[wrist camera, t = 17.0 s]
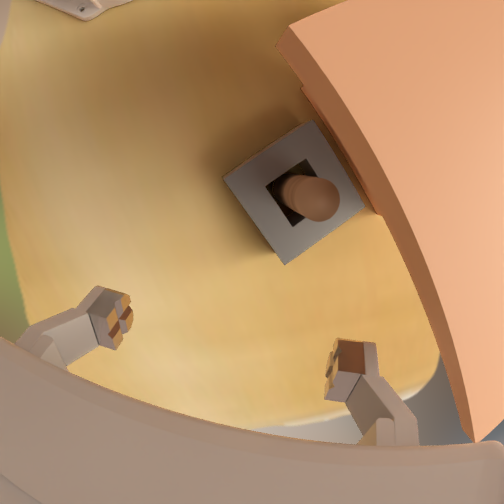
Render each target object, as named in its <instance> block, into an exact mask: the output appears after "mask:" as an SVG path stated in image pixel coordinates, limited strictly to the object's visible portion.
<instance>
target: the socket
mask: <svg viewBox="0 0 504 504" xmlns="http://www.w3.org/2000/svg"><path fill="white" fill-rule="evenodd" d="M297 164H298V165H299V166H300V168H301V169H302V171H303V172H304V174H305V175H306V176H311V177H317V178H323V179H327V180H329V181H331V182H332V183H333V184H334V185H335V186H336V188H337V189H338V192H339V195H340V204H339V207H338V210H337V212H336V213H335V214H334V215H333V216H332V217H331V218H330V219H328V220H326V221H322V222H315V221H312V220H310V219H308V218H306V217H304V216H303V215H301V214H299V213H298V212H296V211H294V212H293V213H291V214H290V215H288V216H287V217H285V215H284V214H283V212H282V211H281V209H280V208H279V206H278V205H277V203H276V202H275V200H274V199H273V197H272V196H271V195H270V193H269V192H268V190H267V189H266V187H265V186H266V185H268V184H269V183H270V182H272V181H273V180H275V179H276V178H278V177H279V176H281V175H282V174H283V173H285V172H286V171H288V170H289V169H291V168H292V167H294V166H295V165H297ZM222 179H223V180H224V181H225V183H226V184H227V185H228V187H229V188H230V190H231V191H232V192H233V194H234V195H235V197H236V198H237V199H238V201H239V202H240V204H241V205H242V206H243V208H244V209H245V210H246V212H247V213H248V215H249V216H250V217H251V219H252V220H253V222H254V223H255V225H256V226H257V227H258V229H259V230H260V232H261V233H262V234H263V236H264V237H265V239H266V240H267V241H268V243H269V244H270V246H271V247H272V248H273V250H274V251H275V253H276V254H277V256H278V257H279V258H280V260H281V261H282V262H283V264H284V265H286V264H287V263H289V262H290V261H291V260H293V259H294V258H296V257H297V256H299V255H300V254H301V253H303V252H304V251H305V250H307V249H308V248H310V247H311V246H312V245H314V244H315V243H317V242H318V241H319V240H321V239H322V238H324V237H325V236H326V235H328V234H329V233H330V232H332V231H333V230H335V229H336V228H337V227H339V226H340V225H341V224H343V223H344V222H345V221H347V220H348V219H350V218H351V217H352V216H354V215H355V214H356V213H358V212H359V211H360V210H362V209H363V208H364V207H365V205H364V203H363V201H362V199H361V198H360V196H359V194H358V192H357V190H356V189H355V187H354V185H353V183H352V182H351V180H350V178H349V177H348V175H347V173H346V171H345V170H344V168H343V166H342V165H341V163H340V161H339V160H338V158H337V156H336V155H335V153H334V151H333V150H332V148H331V147H330V145H329V143H328V142H327V140H326V139H325V137H324V136H323V134H322V132H321V131H320V129H319V128H318V126H317V125H316V123H315V122H314V120H310V121H308V122H305V123H302V124H300V125H299V126H297V127H295V128H294V129H292V130H291V131H289V132H288V133H286V134H285V135H283V136H282V137H280V138H279V139H277V140H275V141H274V142H272V143H271V144H269V145H268V146H266V147H265V148H263V149H262V150H261V151H259V152H258V153H256V154H255V155H253V156H252V157H250V158H249V159H247V160H246V161H244V162H243V163H242V164H240V165H239V166H237V167H236V168H234V169H233V170H231V171H230V172H229V173H227V174H226V175H224V176H223V177H222Z"/></svg>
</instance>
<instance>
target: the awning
mask: <svg viewBox="0 0 504 504" xmlns="http://www.w3.org/2000/svg"><path fill="white" fill-rule="evenodd" d="M275 47H276V48H277V50H278V51H279V52H280V54H281V55H282V56H283V58H284V59H285V60H286V62H287V63H288V64H289V66H290V67H291V68H292V70H293V71H294V72H295V74H296V75H297V76H298V78H299V79H300V81H301V82H302V84H303V85H304V86H302V87H301V90H302V91H303V93H304V94H305V96H306V97H307V99H308V100H309V101H310V103H311V104H312V106H313V107H314V109H315V110H316V112H317V113H318V115H319V116H320V118H321V119H322V121H323V123H324V124H325V126H326V127H327V129H328V130H329V132H330V134H331V135H332V137H333V138H334V140H335V142H336V143H337V145H338V146H339V148H340V150H341V151H342V153H343V155H344V156H345V158H346V160H347V161H348V163H349V165H350V166H351V168H352V170H353V172H354V173H355V175H356V177H357V179H358V180H359V182H360V184H361V186H362V188H363V189H364V191H365V193H366V195H367V197H368V198H369V200H370V202H371V204H372V206H373V208H374V210H375V212H376V214H378V215H380V216H383V218H384V220H385V222H386V224H387V226H388V228H389V230H390V232H391V234H392V236H393V238H394V241H395V243H396V245H397V247H398V249H399V251H400V253H401V256H402V258H403V260H404V262H405V264H406V267H407V269H408V271H409V273H410V276H411V278H412V280H413V283H414V285H415V287H416V290H417V292H418V295H419V297H420V299H421V302H422V304H423V307H424V310H425V312H426V315H427V317H428V320H429V323H430V325H431V328H432V331H433V333H434V336H435V339H436V342H437V345H438V347H439V350H440V353H441V356H442V359H443V362H444V365H445V368H446V372H447V375H448V378H449V381H450V385H451V388H452V391H453V395H454V399H455V402H456V406H457V409H458V413H459V417H460V421H461V425H462V429H463V431H464V432H465V433H466V434H467V435H468V436H469V437H470V439H471V440H472V441H473V442H474V443H477V442H479V441H480V440H482V439H483V438H484V437H485V436H486V435H487V434H488V433H490V432H491V431H492V430H493V429H494V428H495V427H496V426H497V425H498V424H499V423H500V422H501V421H502V420H503V419H504V0H347V1H345V2H342V3H339V4H337V5H334V6H332V7H329V8H327V9H324V10H322V11H320V12H317V13H315V14H312V15H310V16H308V17H306V18H303V19H301V20H299V21H297V22H295V23H292V24H290V25H288V27H287V28H286V30H285V32H284V33H283V35H282V36H281V38H280V39H279V41H278V43H277V44H276V46H275Z"/></svg>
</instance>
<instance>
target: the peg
mask: <svg viewBox="0 0 504 504" xmlns="http://www.w3.org/2000/svg"><path fill="white" fill-rule="evenodd" d="M273 194H274V197H275V198H276V199H277V200H278V201H279V202H280V203H282V204H284V205H285V206H287V207H289V208H291V209H292V210H294V211H296V212H298V213H299V214H301V215H303V216H304V217H306V218H308V219H310V220H312V221H315V222H322V221H326V220H328V219H330V218H331V217H332V216H333V215H334V214H335V213H336V212H337V210H338V207H339V204H340V195H339V192H338V189H337V188H336V186H335V185H334V184H333V183H332V182H331V181H329V180H327V179H323V178H317V177H311V176H305V175H298V174H292V173H285V174H282V175H281V176H279V177H278V178H276V180H275V181H274V184H273Z"/></svg>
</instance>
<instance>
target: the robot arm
mask: <svg viewBox="0 0 504 504" xmlns="http://www.w3.org/2000/svg"><path fill="white" fill-rule="evenodd" d="M35 1H38V2H41V3H43V4H46V5H48V6H51V7H53V8H56V9H58V10H60V11H63V12H65V13H67V14H70V15H72V16H74V17H77V18H79V19H81V20H83V21H89V20H91V19H93V18H95V17H96V16H98V15H99V14H101V13H102V12H104V11H105V10H107V9H109V8H112V7H115V6H118V5H122V4H125V3H127V2H130V1H132V0H35ZM82 9H84V10H83V11H82V12H81V10H82ZM130 302H131V300H130V296H129V295H128V294H125V293H122V292H118V291H115V290H112V289H108V288H104V287H101V286H95V287H94V288H93V289H92V290H91V291H90V293H89V294H88V295H87V296H86V297H85V298H84V299H83V301H82V302H81V303H80V304H79V305H78V306H77V308H76V309H75V308H71V309H69V310H67V311H64V312H62V313H59V314H57V315H55V316H52V317H50V318H48V319H45V320H43V321H40V322H38V323H36V324H33V325H31V326H29V327H28V328H27V330H26V331H25V332H24V333H23V334H22V335H21V337H20V338H19V339H18V340H17V341H16V342H15V344H13V343H11V342H9V341H8V340H6V339H4V338H3V337H1V336H0V504H504V445H502V444H501V443H500V442H498V441H485V442H477V443H468V444H454V445H440V446H439V445H437V446H419V436H418V426H417V419H416V417H415V416H414V415H413V414H412V412H411V411H410V410H409V409H408V407H407V406H406V405H405V403H404V402H403V401H402V400H401V398H400V397H399V396H398V395H397V393H396V392H395V391H394V390H393V388H392V387H391V386H390V385H389V383H388V382H387V381H386V380H385V379H384V377H381V376H379V366H378V357H377V348H376V344H375V343H373V342H365V341H357V340H349V339H342V338H336V340H335V342H334V344H333V351H332V352H330V354H329V357H328V361H327V365H326V374H325V376H326V377H327V382H326V384H325V393H324V399H325V400H331V401H338V402H345V404H346V406H347V408H348V409H349V411H350V413H351V415H352V417H353V418H354V420H355V422H356V424H357V426H358V427H359V429H360V431H361V433H362V435H363V437H362V438H361V440H360V441H359V442H358V443H357V444H356V445H355V444H354V445H353V444H342V443H330V442H321V441H313V440H305V439H297V438H290V437H284V436H278V435H272V434H266V433H261V432H256V431H251V430H246V429H241V428H236V427H232V426H227V425H223V424H219V423H215V422H211V421H207V420H203V419H199V418H195V417H192V416H188V415H185V414H181V413H178V412H174V411H171V410H168V409H164V408H161V407H158V406H155V405H152V404H149V403H146V402H143V401H140V400H137V399H135V398H132V397H129V396H126V395H123V394H121V393H118V392H116V391H113V390H110V389H108V388H105V387H103V386H100V385H98V384H95V383H93V382H91V381H88V380H86V379H84V378H81V377H79V376H77V375H75V374H72V373H70V372H69V371H68V369H67V367H66V366H67V365H69V364H71V363H72V362H74V361H75V360H77V359H79V358H80V357H82V356H84V355H85V354H87V353H88V352H90V351H92V350H93V349H95V348H96V347H98V346H99V345H101V346H104V347H107V348H110V349H113V350H116V349H117V348H118V346H119V345H120V343H121V342H122V340H123V335H122V334H124V333H126V332H128V331H129V329H130V328H131V325H132V322H133V310H132V309H131V308H130V306H129V304H130Z"/></svg>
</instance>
